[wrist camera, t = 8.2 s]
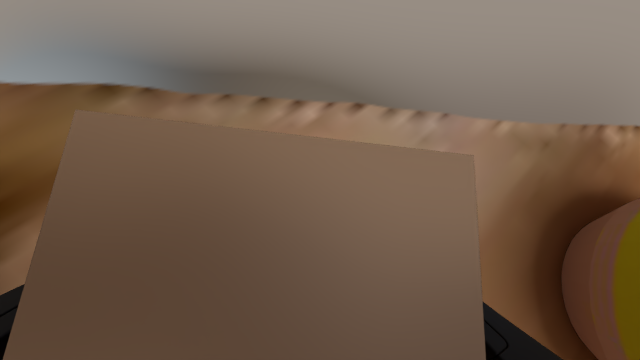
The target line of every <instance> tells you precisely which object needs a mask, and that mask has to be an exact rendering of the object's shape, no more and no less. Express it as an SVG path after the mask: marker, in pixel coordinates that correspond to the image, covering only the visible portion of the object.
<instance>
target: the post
mask: <svg viewBox="0 0 640 360" xmlns="http://www.w3.org/2000/svg"><path fill="white" fill-rule="evenodd" d="M3 360H486V352H485V336H484V319H483V302H482V285H481V269H480V252H479V235H478V218H477V202H476V185H475V168H474V155H467V154H458V153H450V152H441V151H432V150H423V149H415V148H406V147H397V146H389V145H380V144H371V143H362V142H354V141H345V140H336V139H328V138H319V137H310V136H301V135H293V134H284V133H275V132H267V131H258V130H249V129H240V128H232V127H223V126H214V125H206V124H197V123H188V122H179V121H171V120H162V119H153V118H145V117H136V116H127V115H118V114H110V113H101V112H92V111H83V110H75V113H74V117H73V120H72V124H71V127H70V131H69V134H68V137H67V141H66V144H65V148H64V151H63V155H62V158H61V161H60V165H59V168H58V172H57V175H56V179H55V182H54V185H53V189H52V192H51V196H50V199H49V203H48V206H47V209H46V213H45V216H44V220H43V223H42V227H41V230H40V233H39V237H38V240H37V244H36V247H35V251H34V254H33V257H32V261H31V264H30V268H29V271H28V275H27V278H26V281H25V285H24V288H23V292H22V295H21V299H20V302H19V305H18V309H17V312H16V316H15V319H14V323H13V326H12V329H11V333H10V336H9V340H8V343H7V347H6V350H5V353H4V357H3Z"/></svg>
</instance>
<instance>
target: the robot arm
mask: <svg viewBox="0 0 640 360" xmlns="http://www.w3.org/2000/svg"><path fill="white" fill-rule="evenodd" d="M24 285H25V284H24ZM24 285H21V286H19V287H17V288H15V289H13V290H11V291H9V292H7V293H4V294H2V295H0V360H3V357H4V353H5V350H6V347H7V343H8V340H9V336H10V333H11V329H12V326H13V323H14V319H15V316H16V312H17V309H18V305H19V302H20V299H21V295H22V292H23V288H24ZM482 302H483V301H482ZM483 319H484V336H485V352H486V360H563V359H561V358H560V357H559V356H557V355H556V354H554V353H553V352H552V351H550V350H549V349H547V348H546V347H544V346H543V345H542V344H540V343H539V342H537V341H536V340H535V339H533V338H532V337H530V336H529V335H528V334H526V333H525V332H523V331H522V330H521V329H519V328H518V327H516V326H515V325H514V324H512V323H511V322H509V321H508V320H507V319H505V318H504V317H503V316H501V315H500V314H498V313H497V312H496V311H494V310H493V309H492V308H491V307H489V306H488V305H487V304H485V303H484V302H483Z"/></svg>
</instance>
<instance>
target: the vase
mask: <svg viewBox="0 0 640 360" xmlns="http://www.w3.org/2000/svg"><path fill="white" fill-rule="evenodd" d="M561 281H562V294H563V299H564V303H565V308H566V311H567V314H568V316H569V319H570V321H571V324H572V326H573V327H574V329H575V331H576V333H577V334H578V336H579V338H580V339H581V340H582V341H583V343H584V344H585V345H586V346H587V348H588V349H589V350H590V351H591V352H592V353H593V354H594V355H595V356H596V358H597V359H598V360H640V198H639V199H637V200H634V201H632V202H629V203H627V204H625V205H623V206H621V207H619V208H617V209H616V210H614V211H612V212H610V213H608V214H606V215H604V216H602V217H600V218H598V219H596V220H595V221H593V222H591V223H589V224H588V225H586V226H585V227H583V228H582V229H581V230H580V231H579V232H578V233H577V234H576V235H575V237H574V238H573V239H572V241H571V243H570V245H569V247H568V249H567V251H566V254H565V258H564V261H563V267H562V276H561Z"/></svg>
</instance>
